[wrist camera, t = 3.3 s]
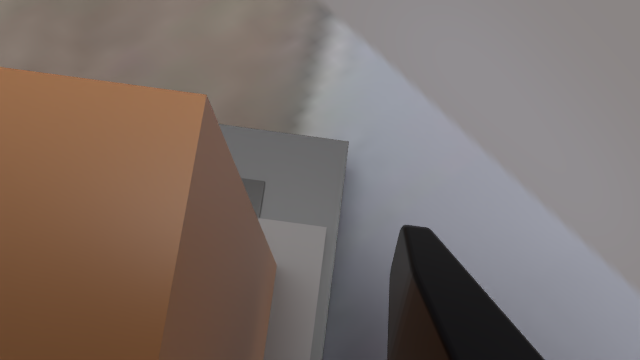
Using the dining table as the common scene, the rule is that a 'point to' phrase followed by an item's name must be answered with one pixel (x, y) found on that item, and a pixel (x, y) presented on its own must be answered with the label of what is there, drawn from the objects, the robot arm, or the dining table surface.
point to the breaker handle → (139, 232)
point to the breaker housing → (295, 191)
